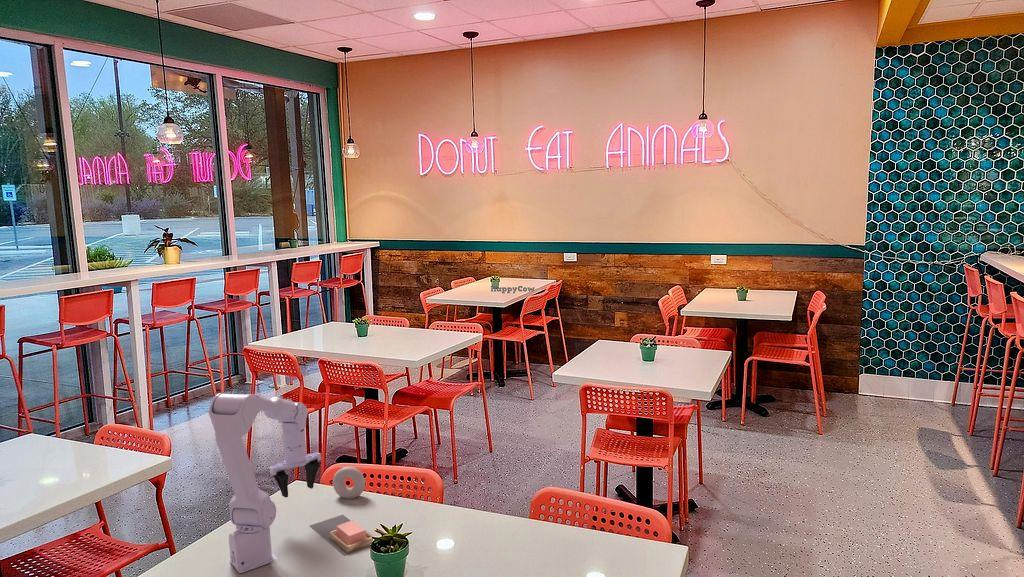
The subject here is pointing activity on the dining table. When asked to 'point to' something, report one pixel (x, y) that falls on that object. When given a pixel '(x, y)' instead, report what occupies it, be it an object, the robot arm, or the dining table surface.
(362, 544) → the tray
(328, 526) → the mat
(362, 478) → the donut
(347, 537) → the card deck
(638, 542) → the dining table surface
